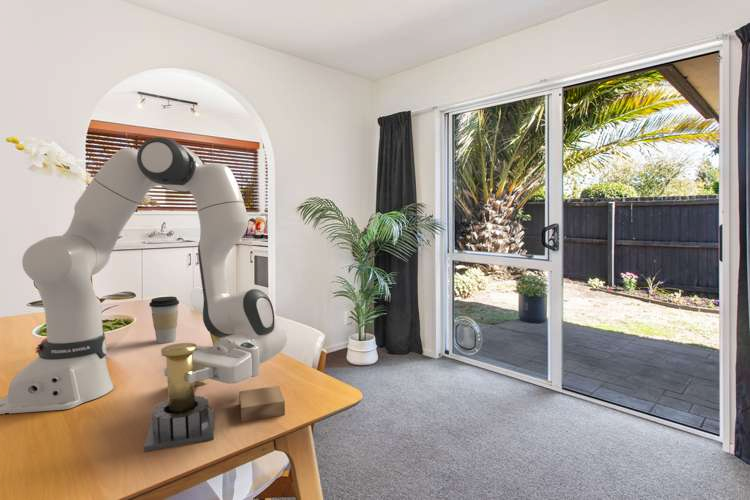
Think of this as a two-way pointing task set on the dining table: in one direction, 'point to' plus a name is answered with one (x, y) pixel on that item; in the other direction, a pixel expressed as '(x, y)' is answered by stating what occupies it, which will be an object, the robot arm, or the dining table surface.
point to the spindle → (179, 375)
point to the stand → (261, 403)
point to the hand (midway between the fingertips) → (176, 376)
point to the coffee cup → (165, 318)
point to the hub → (180, 425)
